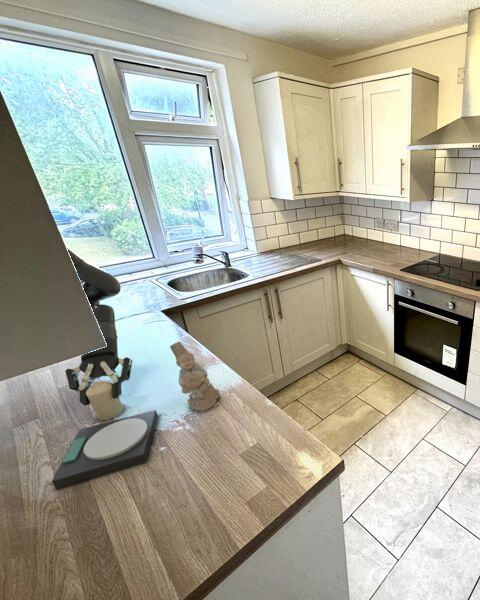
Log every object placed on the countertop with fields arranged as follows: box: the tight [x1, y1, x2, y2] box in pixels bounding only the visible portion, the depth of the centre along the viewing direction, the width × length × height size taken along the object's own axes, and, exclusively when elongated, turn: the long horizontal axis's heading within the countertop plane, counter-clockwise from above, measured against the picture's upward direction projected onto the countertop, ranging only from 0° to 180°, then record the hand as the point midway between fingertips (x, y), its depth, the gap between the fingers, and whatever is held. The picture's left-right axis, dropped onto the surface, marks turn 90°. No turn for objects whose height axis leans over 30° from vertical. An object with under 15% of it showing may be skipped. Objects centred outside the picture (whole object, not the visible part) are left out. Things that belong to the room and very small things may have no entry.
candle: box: [86, 380, 124, 421], centre depth 88 cm, size 6×6×10 cm
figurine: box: [169, 341, 220, 412], centre depth 91 cm, size 9×8×20 cm
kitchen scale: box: [51, 409, 159, 490], centre depth 79 cm, size 16×16×3 cm
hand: (101, 400), depth 87 cm, fingers closed on candle, 5 cm apart
